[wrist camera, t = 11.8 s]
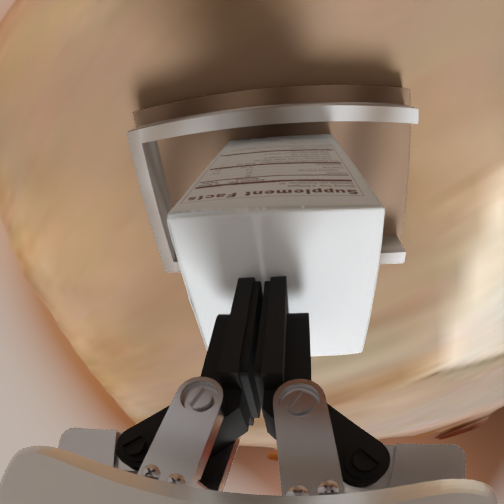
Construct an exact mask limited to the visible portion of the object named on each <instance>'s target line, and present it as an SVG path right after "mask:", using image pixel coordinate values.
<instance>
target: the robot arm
mask: <svg viewBox="0 0 504 504" xmlns="http://www.w3.org/2000/svg"><path fill="white" fill-rule="evenodd" d="M261 408H262V412H263V417H264V419H265V423H266V428H267V432H268V433H269V434H270V435H271V436H272V437H274V438H275V439H276V440H277V450H278V460H279V470H280V480H281V491H282V496H269V495H251V494H240V493H230V492H223V489H224V486H225V483H226V480H227V477H228V475H229V472H230V469H231V466H232V463H233V460H234V457H235V454H236V451H237V448H238V445H239V442H240V436H242V435H243V434H244V433H246V432H247V431H248V427H249V425H253V423H254V418H259V417H260V410H261ZM465 469H466V457H465V453H464V451H463V450H462V449H461V448H460V447H458V446H457V445H452V444H434V445H433V444H429V445H428V444H396V445H395V446H394V445H383V444H382V443H381V442H380V441H378V440H377V439H375V438H374V437H373V436H371V435H370V434H368V433H367V432H365V431H364V430H363V429H361V428H360V427H358V426H357V425H356V424H354V423H353V422H352V421H350V420H349V419H347V418H346V417H345V416H343V415H342V414H341V413H339V412H338V411H337V410H335V409H334V408H333V407H331V406H330V405H329V404H327V402H326V397H325V394H324V392H323V389H322V388H321V387H320V386H319V385H318V384H316V383H315V382H313V381H311V352H310V325H309V313H289V308H288V291H287V277H286V276H276V277H271V279H270V281H265V283H264V292H263V295H262V287H261V282H260V281H255V278H254V277H246V278H238V281H237V286H236V290H235V295H234V299H233V303H232V308H231V312H230V314H218V315H217V318H216V321H215V324H214V328H213V332H212V336H211V339H210V343H209V347H208V351H207V354H206V358H205V362H204V366H203V370H202V373H201V377H195V378H191V379H189V380H187V381H185V382H184V383H183V384H182V385H181V386H180V387H179V389H178V390H177V392H176V394H175V396H174V398H173V400H172V402H171V404H170V406H168V407H166V408H164V409H163V410H161V411H159V412H158V413H156V414H154V415H152V416H151V417H149V418H147V419H145V420H144V421H142V422H140V423H138V424H136V425H135V426H133V427H131V428H129V429H127V430H126V431H125V432H118V431H117V430H101V429H100V430H99V429H84V428H70V429H68V430H66V431H65V432H64V433H63V434H62V436H61V438H60V442H59V447H58V448H54V447H49V446H32V447H27V448H23V449H21V450H19V451H18V452H17V453H16V454H15V455H14V456H13V458H12V459H11V461H10V463H9V464H8V466H7V469H6V470H5V473H4V475H3V477H2V480H1V482H0V504H499V501H498V498H497V496H496V494H495V492H494V490H493V489H492V488H491V487H490V486H488V485H487V484H485V483H483V482H479V481H475V480H467V479H465Z"/></svg>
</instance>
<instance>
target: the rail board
mask: <svg viewBox="0 0 504 504" xmlns="http://www.w3.org/2000/svg"><path fill="white" fill-rule="evenodd" d="M133 114H134V119H135V124H136V128H135V129H133V130H131V131H128V132H126V134H127V138H128V143H129V147H130V151H131V155H132V159H133V163H134V167H135V171H136V175H137V179H138V183H139V187H140V190H141V194H142V198H143V201H144V205H145V208H146V212H147V215H148V218H149V222H150V225H151V228H152V232H153V235H154V238H155V241H156V245H157V248H158V251H159V254H160V257H161V260H162V263H163V266H164V269H165V272H181V270H180V266H179V263H178V259H177V256H176V252H175V249H174V246H173V243H172V239H171V235H170V232H169V228H168V224H167V214H168V213H169V211H170V210H171V209H172V208H173V207H174V206H175V205H176V204H177V202H178V201H179V200H180V199H181V198H182V196H183V195H184V194H185V193H186V191H187V190H188V189H189V188H190V186H191V185H192V184H193V183H194V182H195V180H196V179H197V178H198V177H199V176H200V174H201V173H202V172H203V171H204V170H205V168H206V167H207V166H208V165H209V164H210V163H211V161H212V160H213V159H214V158H215V157H216V156H217V155H218V154H219V152H220V151H221V150H222V149H223V148H224V147H225V146H226V145H227V144H228V142H229V141H233V140H243V139H253V138H264V137H278V136H295V135H316V134H331V135H332V136H333V137H334V138H335V140H336V141H337V142H338V143H339V145H340V146H341V147H342V148H343V150H344V151H345V152H346V154H347V155H348V156H349V158H350V159H351V160H352V162H353V163H354V164H355V166H356V167H357V169H358V170H359V171H360V173H361V174H362V176H363V177H364V179H365V180H366V181H367V183H368V184H369V185H370V187H371V188H372V190H373V191H374V193H375V194H376V196H377V197H378V199H379V200H380V202H381V203H382V205H383V206H384V207H385V216H384V226H383V237H382V246H381V254H380V262H379V264H394V263H404V260H405V255H406V251H405V249H404V247H403V246H402V244H401V239H402V232H403V225H404V217H405V209H406V200H407V189H408V177H409V162H410V137H411V123H413V124H418V109H417V108H414V107H411V98H410V89H408V88H401V87H388V86H371V85H302V86H285V87H272V88H261V89H251V90H243V91H235V92H227V93H221V94H214V95H208V96H202V97H196V98H191V99H186V100H181V101H176V102H171V103H167V104H162V105H158V106H154V107H150V108H146V109H142V110H139V111H135V112H133Z"/></svg>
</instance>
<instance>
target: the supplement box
mask: <svg viewBox="0 0 504 504" xmlns="http://www.w3.org/2000/svg"><path fill="white" fill-rule="evenodd" d="M384 216H385V207H384V206H383V205H382V203H381V202H380V200H379V199H378V197H377V196H376V194H375V193H374V191H373V190H372V188H371V187H370V185H369V184H368V183H367V181H366V180H365V179H364V177H363V176H362V174H361V173H360V171H359V170H358V169H357V167H356V166H355V164H354V163H353V162H352V160H351V159H350V158H349V156H348V155H347V154H346V152H345V151H344V150H343V148H342V147H341V146H340V145H339V143H338V142H337V141H336V140H335V138H334V137H333V136H332V135H331V134H316V135H295V136H278V137H264V138H253V139H243V140H233V141H229V142H228V144H227V145H226V146H225V147H224V148H223V149H222V150H221V151H220V152H219V154H218V155H217V156H216V157H215V158H214V159H213V160H212V161H211V163H210V164H209V165H208V166H207V167H206V168H205V170H204V171H203V172H202V173H201V174H200V176H199V177H198V178H197V179H196V180H195V182H194V183H193V184H192V185H191V186H190V188H189V189H188V190H187V191H186V193H185V194H184V195H183V196H182V198H181V199H180V200H179V201H178V202H177V204H176V205H175V206H174V207H173V208H172V209H171V210H170V211H169V213H168V214H167V224H168V228H169V232H170V235H171V239H172V243H173V246H174V249H175V252H176V256H177V259H178V263H179V266H180V270H181V273H182V276H183V279H184V282H185V286H186V289H187V293H188V296H189V300H190V303H191V306H192V308H193V311H194V314H195V317H196V320H197V323H198V326H199V329H200V331H201V334H202V337H203V340H204V343H205V346H206V350H207V351H208V347H209V343H210V339H211V336H212V332H213V328H214V324H215V321H216V318H217V315H218V314H230V312H231V308H232V303H233V299H234V295H235V290H236V286H237V281H238V278H246V277H254V278H255V281H260V282H261V287H262V295H263V292H264V283H265V281H270V279H271V277H276V276H286V277H287V291H288V308H289V313H309V325H310V352H311V356H327V355H328V356H331V355H345V354H354V353H360V352H362V350H363V347H364V343H365V338H366V334H367V330H368V325H369V321H370V315H371V310H372V305H373V300H374V294H375V288H376V282H377V276H378V269H379V262H380V254H381V246H382V237H383V226H384Z"/></svg>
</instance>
